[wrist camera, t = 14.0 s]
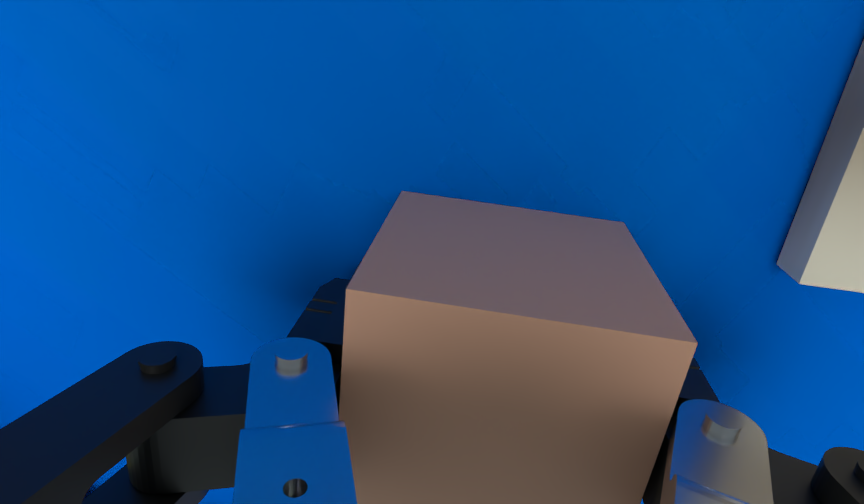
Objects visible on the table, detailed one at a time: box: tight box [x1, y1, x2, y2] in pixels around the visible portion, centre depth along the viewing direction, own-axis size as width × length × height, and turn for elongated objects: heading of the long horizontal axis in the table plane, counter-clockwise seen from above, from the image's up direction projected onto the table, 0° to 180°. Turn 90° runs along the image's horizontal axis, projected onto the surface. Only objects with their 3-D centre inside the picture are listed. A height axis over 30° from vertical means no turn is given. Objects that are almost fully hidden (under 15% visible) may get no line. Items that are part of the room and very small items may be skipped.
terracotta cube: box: [339, 191, 698, 504], centre depth 11 cm, size 5×5×5 cm
